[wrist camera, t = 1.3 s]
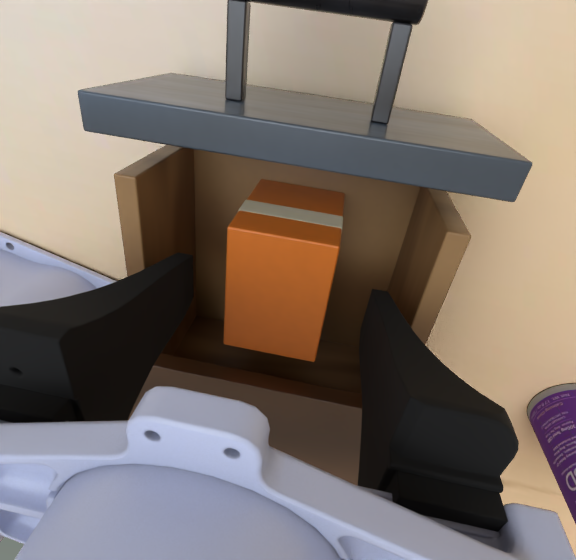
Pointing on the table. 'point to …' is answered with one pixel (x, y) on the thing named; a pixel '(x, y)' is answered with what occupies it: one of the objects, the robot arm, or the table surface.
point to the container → (558, 435)
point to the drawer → (305, 172)
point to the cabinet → (279, 410)
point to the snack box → (281, 268)
